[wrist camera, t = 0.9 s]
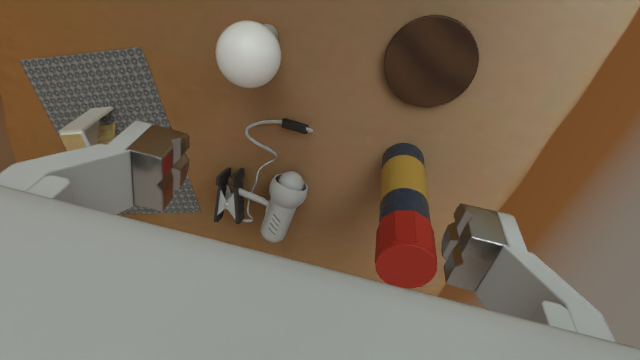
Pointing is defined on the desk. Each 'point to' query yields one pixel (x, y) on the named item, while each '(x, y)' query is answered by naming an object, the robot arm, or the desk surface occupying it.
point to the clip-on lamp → (283, 192)
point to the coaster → (431, 61)
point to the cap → (405, 249)
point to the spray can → (403, 181)
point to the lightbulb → (248, 53)
